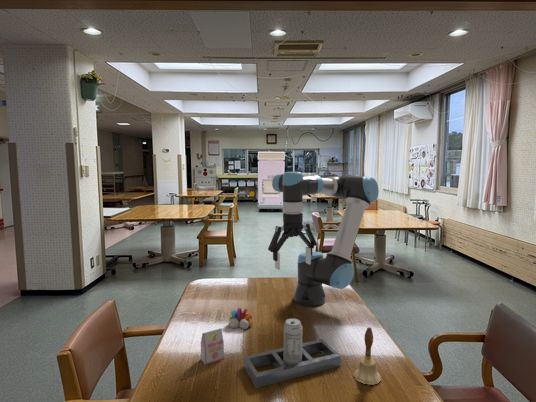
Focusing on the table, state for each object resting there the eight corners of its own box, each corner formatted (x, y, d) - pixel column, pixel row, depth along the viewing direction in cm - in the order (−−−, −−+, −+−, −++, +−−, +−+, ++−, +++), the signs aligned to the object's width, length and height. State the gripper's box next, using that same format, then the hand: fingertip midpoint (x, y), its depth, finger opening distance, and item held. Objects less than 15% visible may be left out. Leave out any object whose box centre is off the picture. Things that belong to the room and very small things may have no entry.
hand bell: (349, 369, 110) (351, 322, 109) (375, 368, 111) (377, 321, 109) (358, 386, 102) (360, 335, 100) (385, 385, 103) (388, 334, 101)
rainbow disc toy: (249, 331, 135) (249, 313, 134) (226, 329, 137) (226, 311, 136) (255, 321, 143) (255, 305, 142) (232, 319, 145) (232, 303, 144)
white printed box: (201, 359, 116) (200, 331, 115) (219, 353, 119) (219, 326, 118) (205, 364, 113) (204, 335, 112) (223, 358, 116) (223, 330, 115)
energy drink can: (303, 362, 114) (304, 319, 112) (299, 372, 108) (299, 327, 107) (286, 358, 116) (286, 316, 114) (280, 368, 110) (281, 324, 109)
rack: (321, 348, 123) (321, 338, 123) (340, 365, 112) (340, 355, 112) (243, 366, 112) (243, 356, 111) (256, 388, 101) (256, 377, 101)
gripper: (315, 208, 140) (315, 258, 143) (258, 213, 129) (259, 268, 132) (325, 211, 133) (325, 264, 136) (267, 217, 123) (268, 274, 126)
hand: (293, 266), depth 134 cm, fingers open, 13 cm apart
